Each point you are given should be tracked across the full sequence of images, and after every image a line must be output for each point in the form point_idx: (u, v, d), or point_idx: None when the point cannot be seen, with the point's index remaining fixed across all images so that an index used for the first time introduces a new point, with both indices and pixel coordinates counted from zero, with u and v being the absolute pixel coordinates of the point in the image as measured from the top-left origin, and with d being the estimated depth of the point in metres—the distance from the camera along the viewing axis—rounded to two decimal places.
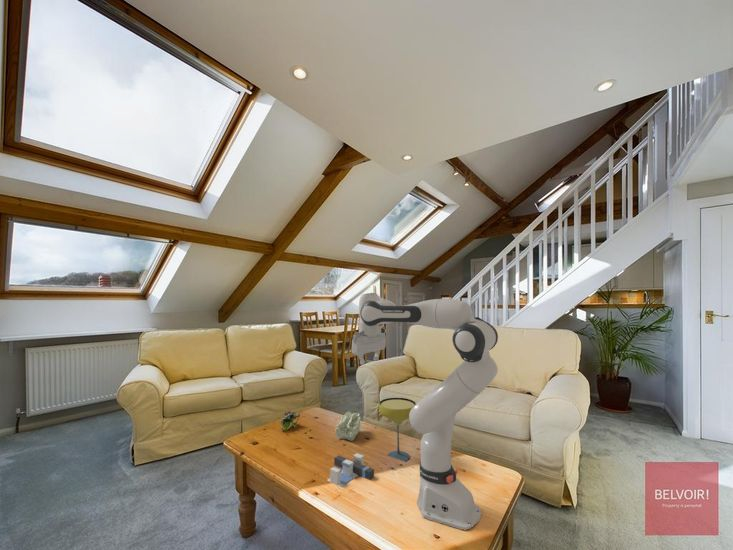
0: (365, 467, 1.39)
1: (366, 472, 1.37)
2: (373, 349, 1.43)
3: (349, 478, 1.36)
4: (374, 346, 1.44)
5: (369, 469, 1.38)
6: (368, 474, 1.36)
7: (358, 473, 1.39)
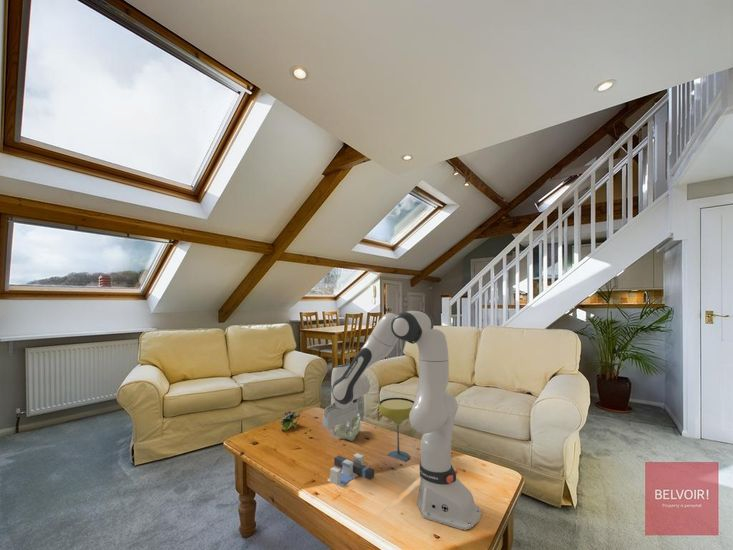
0: (365, 467, 1.39)
1: (366, 472, 1.37)
2: (344, 420, 1.48)
3: (349, 478, 1.36)
4: (345, 416, 1.48)
5: (369, 469, 1.38)
6: (368, 474, 1.36)
7: (358, 473, 1.39)
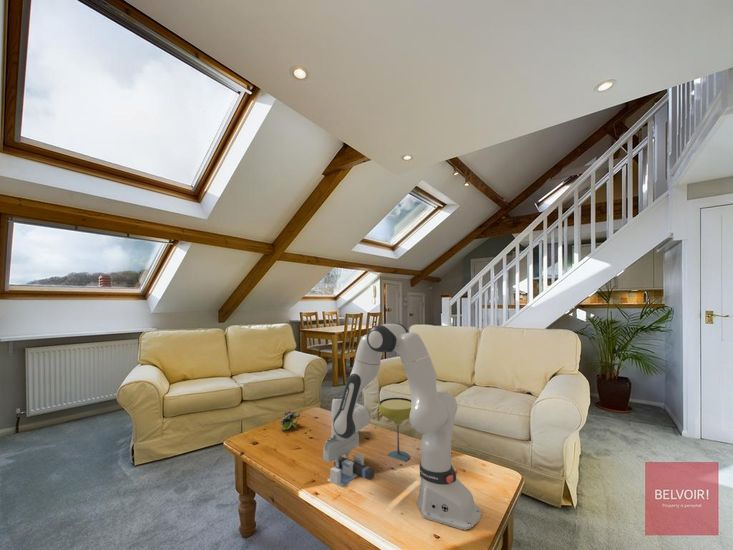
0: (365, 467, 1.39)
1: (366, 472, 1.37)
2: (345, 451, 1.47)
3: (349, 478, 1.36)
4: (346, 448, 1.47)
5: (369, 469, 1.38)
6: (368, 474, 1.36)
7: (358, 473, 1.39)
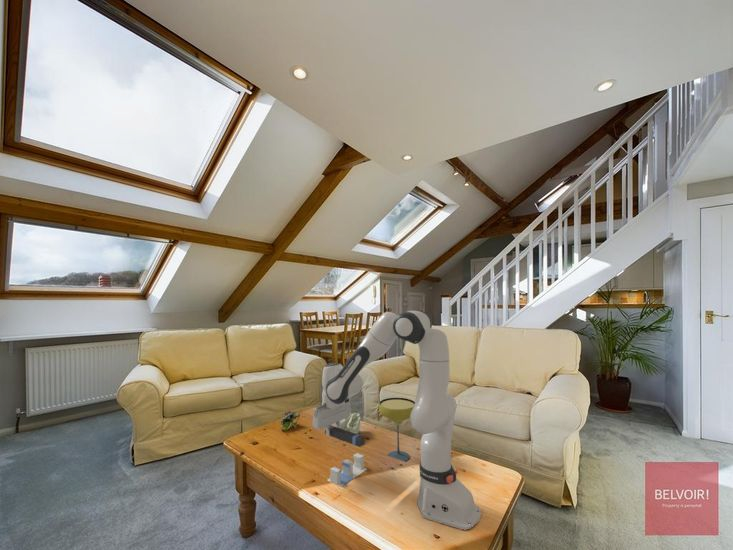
0: (356, 435, 1.36)
1: (356, 439, 1.33)
2: (336, 420, 1.44)
3: (349, 478, 1.36)
4: (337, 417, 1.44)
5: (359, 436, 1.34)
6: (358, 441, 1.33)
7: (348, 441, 1.36)
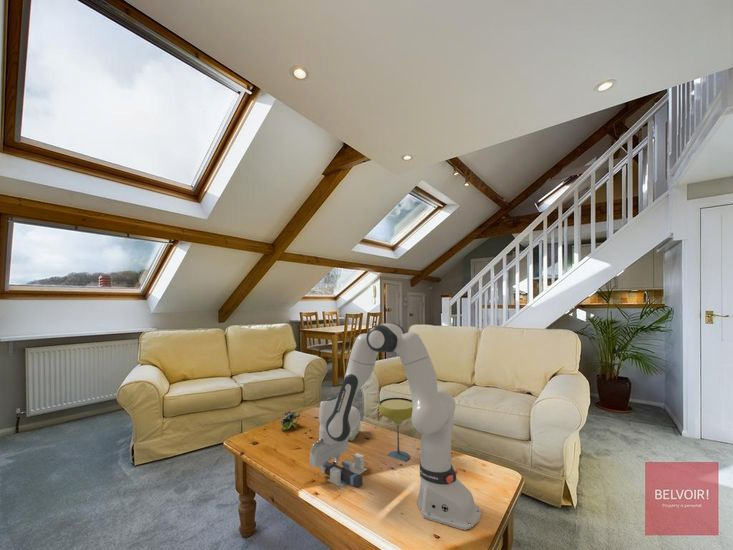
0: (353, 474, 1.34)
1: (354, 479, 1.31)
2: (333, 455, 1.41)
3: None
4: (334, 452, 1.42)
5: (357, 476, 1.32)
6: (356, 482, 1.30)
7: (346, 480, 1.33)
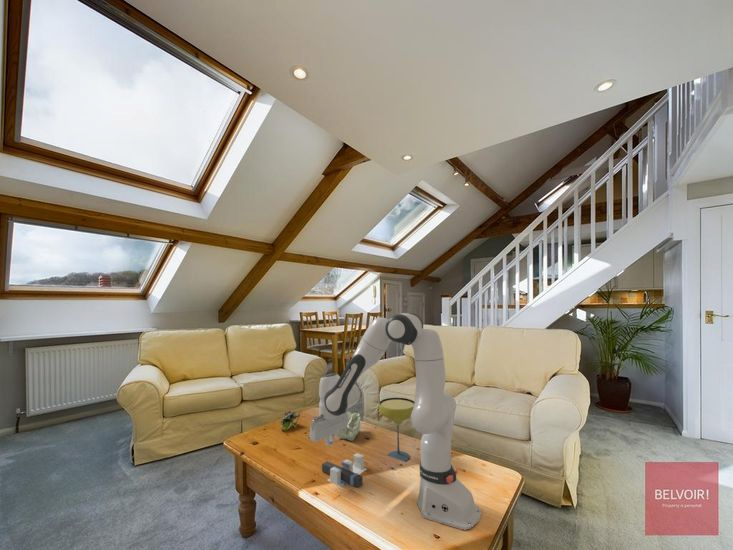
0: (353, 474, 1.34)
1: (354, 479, 1.31)
2: (333, 431, 1.42)
3: None
4: (334, 428, 1.42)
5: (357, 476, 1.32)
6: (356, 482, 1.30)
7: (346, 480, 1.33)
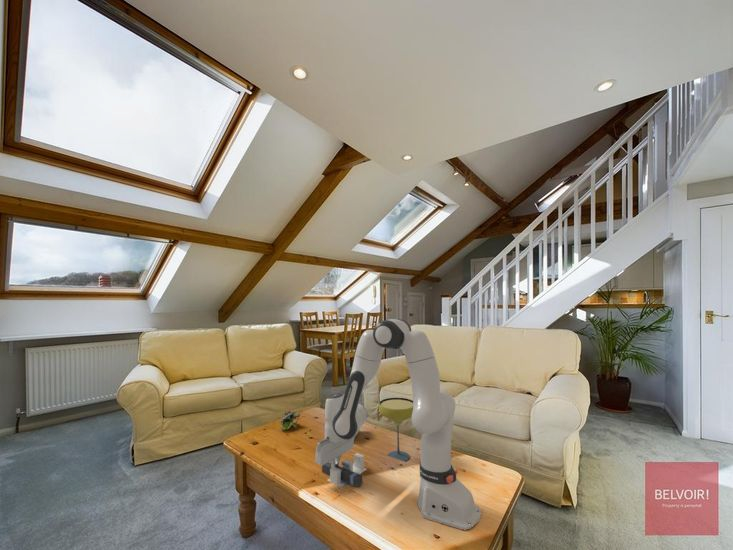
0: (353, 473, 1.34)
1: (354, 479, 1.31)
2: (339, 454, 1.39)
3: None
4: (340, 450, 1.40)
5: (357, 475, 1.32)
6: (356, 481, 1.30)
7: (346, 480, 1.33)
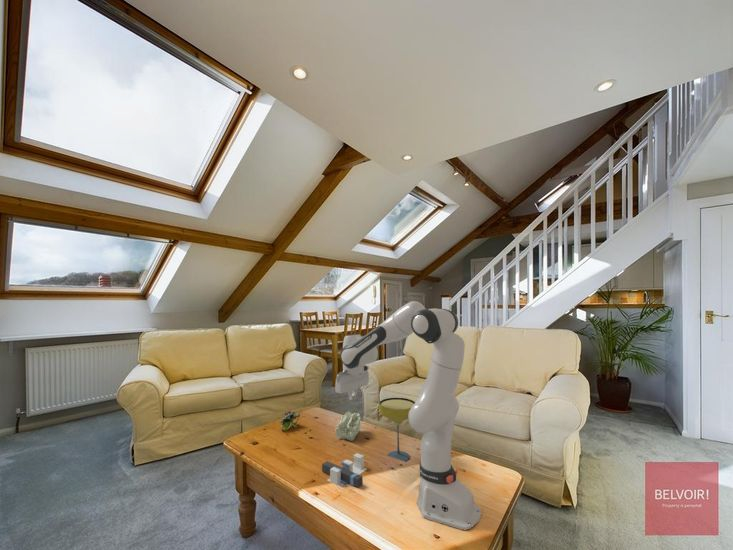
0: (353, 474, 1.34)
1: (354, 479, 1.31)
2: (356, 386, 1.53)
3: None
4: (357, 383, 1.54)
5: (357, 476, 1.32)
6: (356, 482, 1.30)
7: (346, 480, 1.33)
